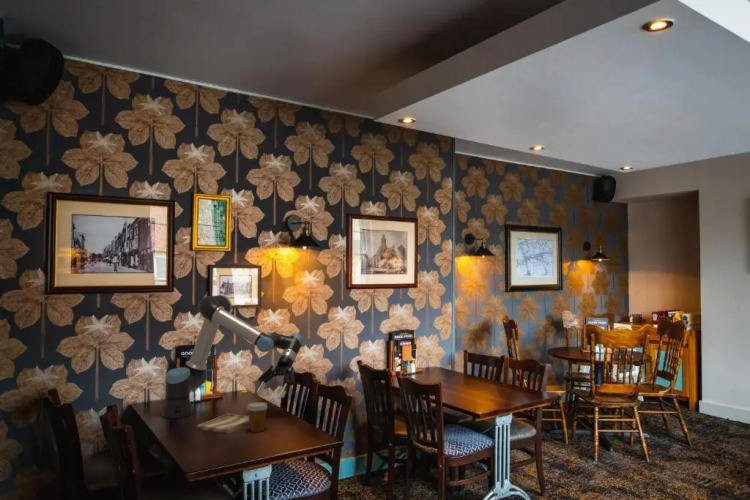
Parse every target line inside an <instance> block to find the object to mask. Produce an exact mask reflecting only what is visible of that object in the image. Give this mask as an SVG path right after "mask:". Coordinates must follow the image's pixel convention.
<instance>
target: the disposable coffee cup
mask: <svg viewBox="0 0 750 500" xmlns="http://www.w3.org/2000/svg"><path fill="white" fill-rule="evenodd" d="M268 407H269V406H268V403H266V402H262V401H255V402H251V403H249V404H247V407H246V408H247V412H248V416H249V422H250V424H249V428H250V430H249V431H250V432H252V433H259V432H262V431H264V430H265V425H266V424H265V423H266V417H267V409H268Z"/></svg>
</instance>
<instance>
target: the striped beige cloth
mask: <svg viewBox="0 0 750 500" xmlns="http://www.w3.org/2000/svg"><path fill="white" fill-rule="evenodd" d="M247 426H250V422H249V415H241V414H235V413H225V414H223V415H220V416H218V417H214V418H213V419H210V420H207V421H205V422H202V423H200V424H197V430H202V431H207V432H215V433H221V434H227V435H228V434H230V433H232V432H235V431H239V430H240V429H242V428H244V427H247Z"/></svg>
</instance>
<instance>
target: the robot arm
mask: <svg viewBox="0 0 750 500" xmlns="http://www.w3.org/2000/svg"><path fill="white" fill-rule="evenodd" d="M232 307H233V306H232V302H231V300H230V299H229V298H228V297H227V296H226V295H220V294H217V295H208V296H205V297H203V298H202V299H201V300H200V301H199V303H198V312H199V314H200V315H201V316H202V318H203V322H202V326H201V328H200V331H199V334H198V336H197V339H196V342H195V345H194V348H193V351H192V354H191V357H190V359H189V360H187V361H186V362H185V365H184V367H177V368H172V369H170V370H169V371H167V373H166V378H165V381H166V382H165V402H164V405H163V409H162V412H161V416H162V418H165V419H180V418H186V417H189V416H192V415H193V413H194V411H193V409H194V408H193V407H192V403H191V399H190V395H191V392H190V391H192V390H194V389H197V388H199V387H201V386H202V385H204V383H205V382H206V381H207V379H208V373H207V369H208V367H207V364H206V363H207V361H208V358H209V356H210V352H211V350H212V347H213V344H214V341H215V339H216V336H217V333H218V330H219V328H220V326H222V327H224V328H226V329H227V330H229V331H230V332H232V333H234V334H235V335H237V336H240V338H242V339H244V340H246V341H247V342H249V343H251V344H253V345H254V346H256V348H257V349H258V351H260V352H262V353H267V352H271V351H272V350H275V349H278V350H282V353H281V355H280V357H279V358H278V361H277V363H276V366H274V365H270V366H269V368H268V369H267V370H266V371H265V372H264V373H263V374H261V376H259V378H258V381H259V382H260V383H259V385H258V389H257V391H256V393H257V395H258V396H261V395H262V394H263V390H264V388H265V387H266V385H267V384H266V383H267V382H269V381H270V380H272V379H274V378H275V377H277V376H279V377H283V376H284V378H285V381H286V383H284V385H283V388H282V389H281V392H280V395H279V396H281V398H282V399H283V398H285V395H286V394H287V392H288V391H289V390H290V388H291V386H293V387H294V386H296V385H295V382H296V381H295V371H296V369H295V367H294V366H293V365H294V363H295V360H296V358H297V356H298V354H299V351H300V349H301V348H302V345H303V343H304V337H303V336H302V335H301V334H300V333H298V332H294V333H291V335H285V334H280V333H277V332H272V331H268V332H267V333H265V332H263V331H262V330H261V329H259V328H257V327H255V326H253V325H251V324H250V323H248V322H246V321H245V320H242V319H241V318H239V317H238V316H236V315H234V314H232V313H231V311H232ZM289 372H290V373H289ZM288 373H289V374H288ZM289 377H290V378H289Z"/></svg>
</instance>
